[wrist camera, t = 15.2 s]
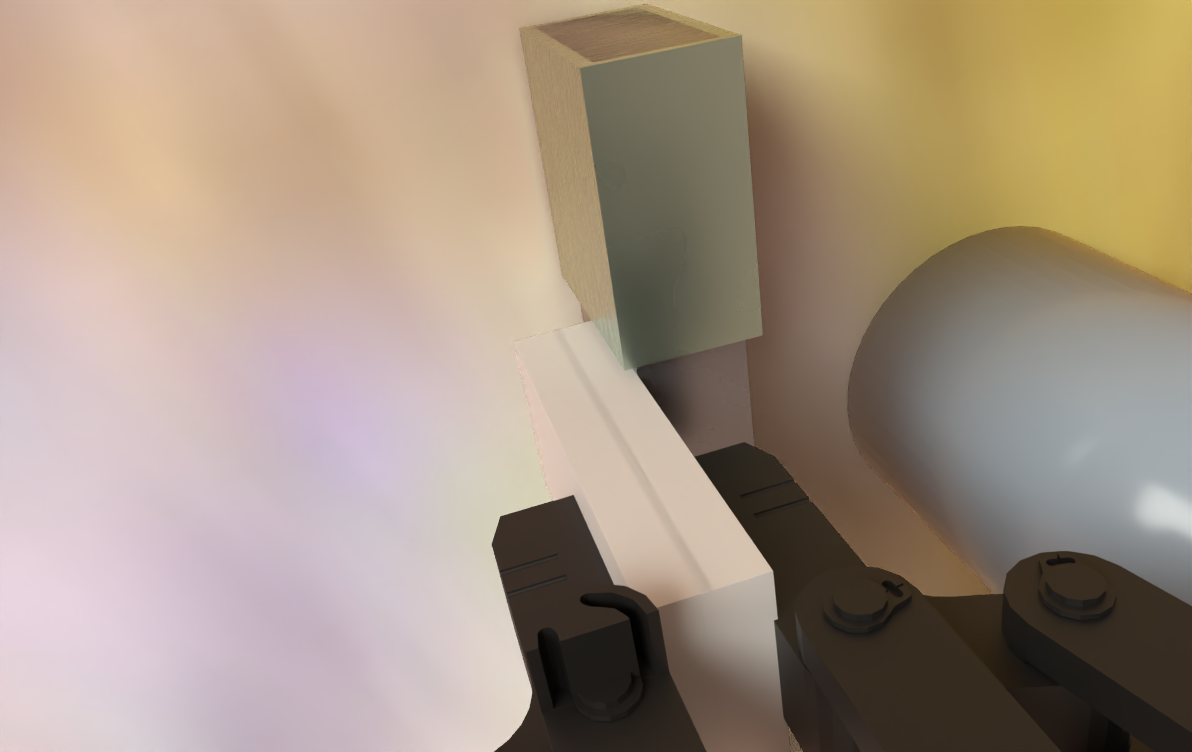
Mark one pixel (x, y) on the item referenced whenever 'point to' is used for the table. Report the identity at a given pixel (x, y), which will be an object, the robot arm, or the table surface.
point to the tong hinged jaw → (655, 203)
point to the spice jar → (1034, 405)
